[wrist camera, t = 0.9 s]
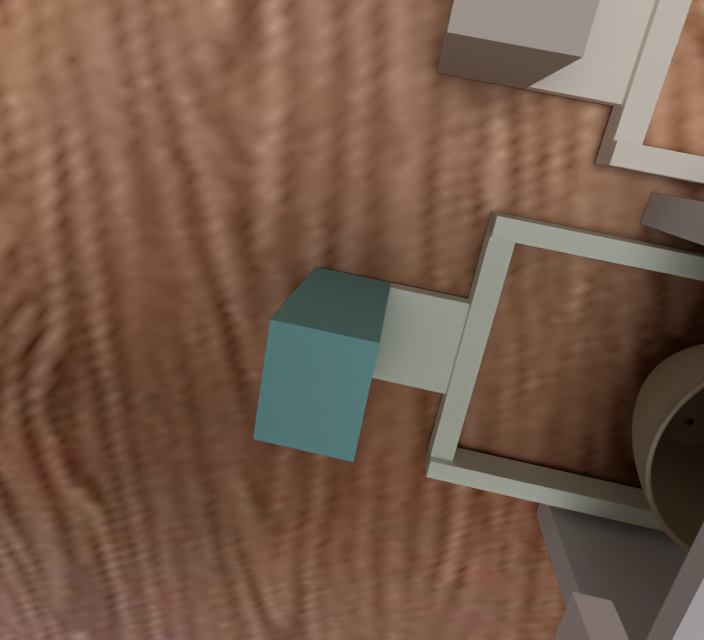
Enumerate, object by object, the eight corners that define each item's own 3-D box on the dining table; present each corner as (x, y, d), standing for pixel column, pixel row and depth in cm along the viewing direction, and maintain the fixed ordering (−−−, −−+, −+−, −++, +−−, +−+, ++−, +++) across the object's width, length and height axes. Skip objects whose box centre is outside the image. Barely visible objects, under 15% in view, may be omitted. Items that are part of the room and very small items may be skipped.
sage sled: (288, 425, 31) (239, 531, 22) (330, 178, 26) (288, 193, 18) (784, 537, 29) (935, 697, 21) (918, 296, 25) (1181, 374, 16)
